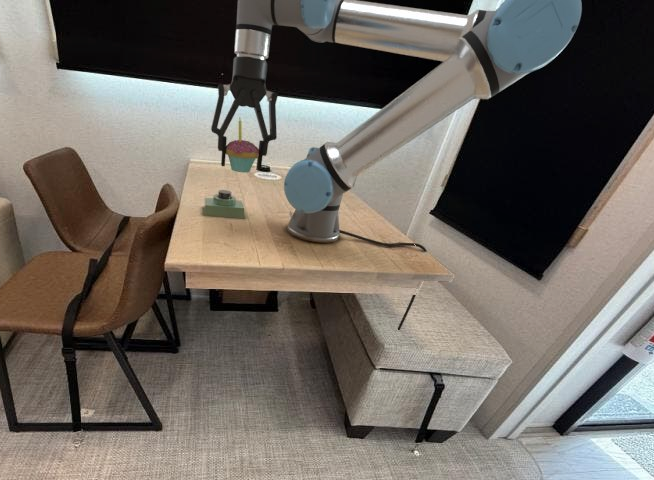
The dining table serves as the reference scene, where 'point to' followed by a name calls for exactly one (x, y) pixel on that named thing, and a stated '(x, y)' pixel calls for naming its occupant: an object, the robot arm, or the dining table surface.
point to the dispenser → (224, 207)
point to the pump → (224, 194)
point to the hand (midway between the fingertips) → (240, 167)
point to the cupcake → (241, 154)
